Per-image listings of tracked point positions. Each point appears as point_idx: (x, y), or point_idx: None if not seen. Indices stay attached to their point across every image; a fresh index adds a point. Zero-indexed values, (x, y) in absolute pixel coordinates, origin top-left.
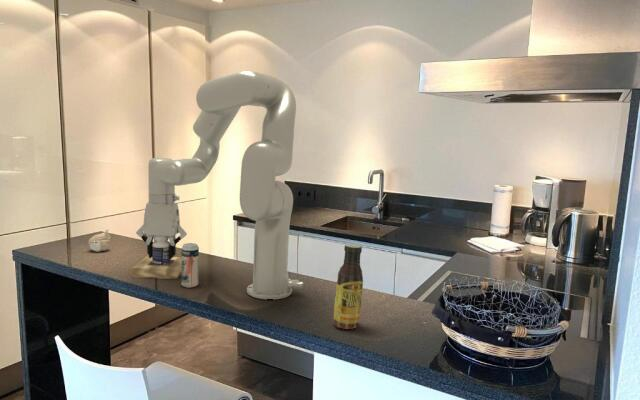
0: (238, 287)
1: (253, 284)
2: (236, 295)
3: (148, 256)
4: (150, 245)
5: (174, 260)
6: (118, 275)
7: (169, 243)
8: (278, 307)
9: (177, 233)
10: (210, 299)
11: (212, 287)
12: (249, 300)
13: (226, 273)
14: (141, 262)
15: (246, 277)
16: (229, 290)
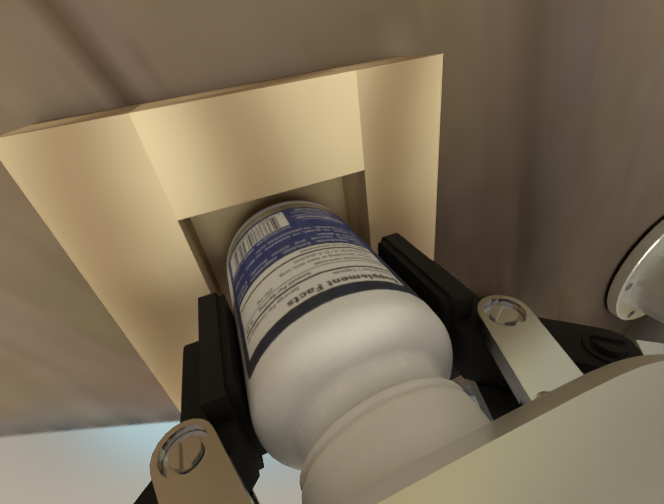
0: (596, 264)
1: (649, 307)
2: (577, 317)
3: (33, 159)
4: (263, 465)
5: (358, 170)
6: (80, 393)
7: (450, 368)
8: (635, 327)
9: (657, 360)
10: None
11: (527, 300)
12: (596, 327)
13: (594, 125)
14: (154, 338)
15: (649, 151)
16: (568, 297)
